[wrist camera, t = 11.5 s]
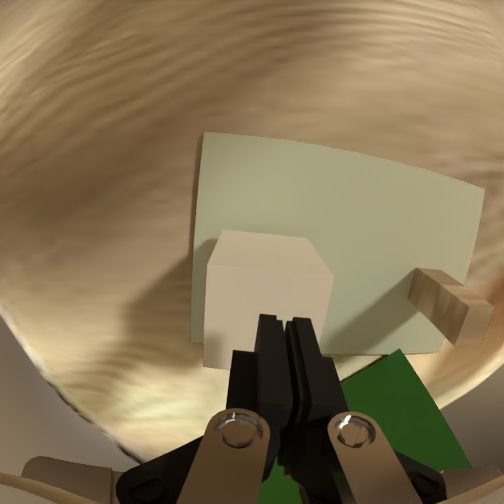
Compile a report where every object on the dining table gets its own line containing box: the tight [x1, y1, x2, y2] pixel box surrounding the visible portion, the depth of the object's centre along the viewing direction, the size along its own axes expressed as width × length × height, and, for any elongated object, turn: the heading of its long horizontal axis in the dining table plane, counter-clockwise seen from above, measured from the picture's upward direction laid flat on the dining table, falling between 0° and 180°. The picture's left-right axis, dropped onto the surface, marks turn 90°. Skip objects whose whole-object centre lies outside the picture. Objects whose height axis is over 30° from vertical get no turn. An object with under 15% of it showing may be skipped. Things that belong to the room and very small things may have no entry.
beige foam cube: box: [203, 229, 334, 370], centre depth 16 cm, size 5×5×7 cm
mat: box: [190, 132, 485, 355], centre depth 20 cm, size 15×22×1 cm
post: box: [407, 267, 495, 346], centre depth 17 cm, size 3×3×7 cm
